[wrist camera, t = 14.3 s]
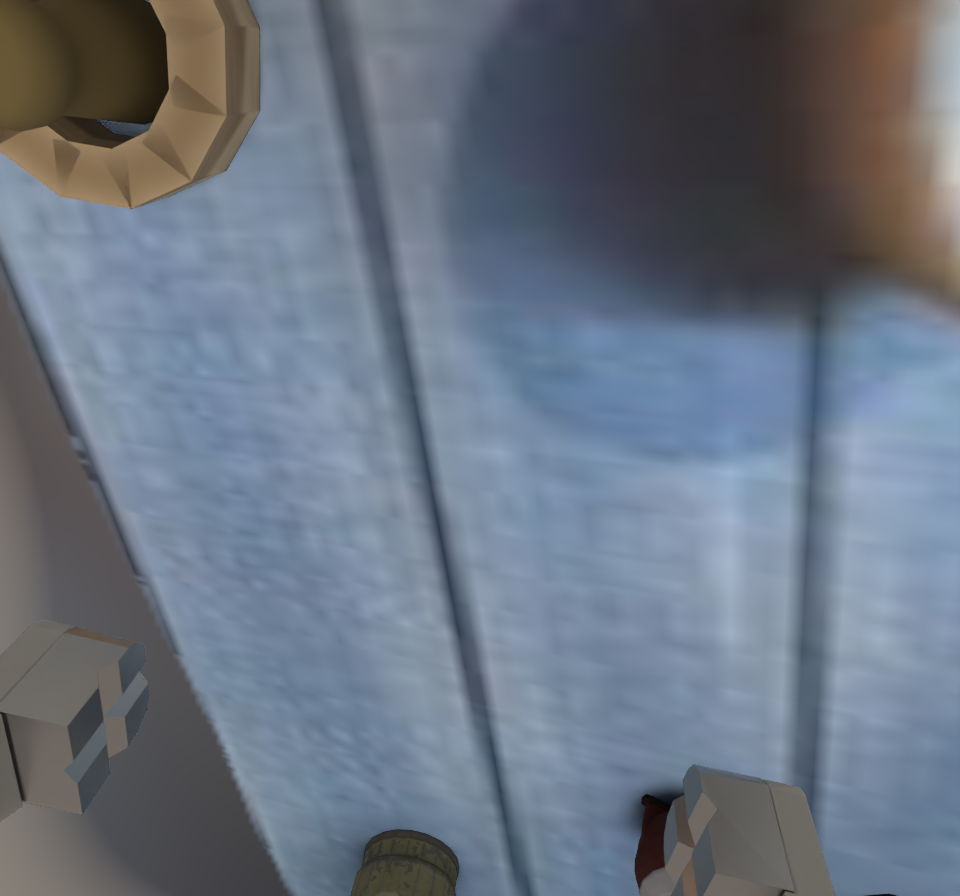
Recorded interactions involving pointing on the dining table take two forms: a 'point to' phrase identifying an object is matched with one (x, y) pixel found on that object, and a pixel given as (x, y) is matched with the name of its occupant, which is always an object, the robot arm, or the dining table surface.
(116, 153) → the tan faceted ring
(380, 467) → the dining table surface
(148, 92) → the dark brown rounded piece
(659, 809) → the mate gourd
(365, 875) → the thermos
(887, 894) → the lantern
